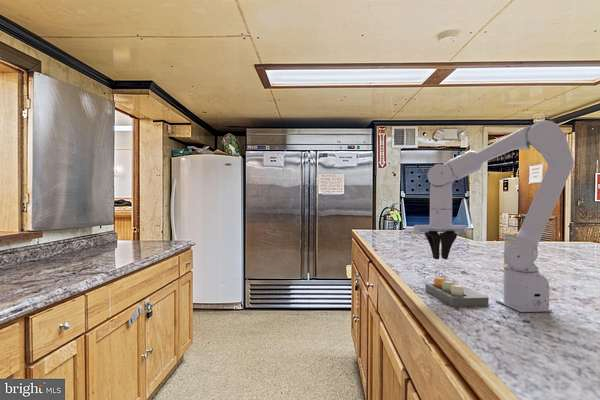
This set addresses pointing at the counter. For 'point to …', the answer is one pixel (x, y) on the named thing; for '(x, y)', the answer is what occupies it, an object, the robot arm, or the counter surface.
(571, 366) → the counter surface
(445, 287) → the button sage
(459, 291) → the button ivory
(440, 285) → the button orange
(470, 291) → the panel
